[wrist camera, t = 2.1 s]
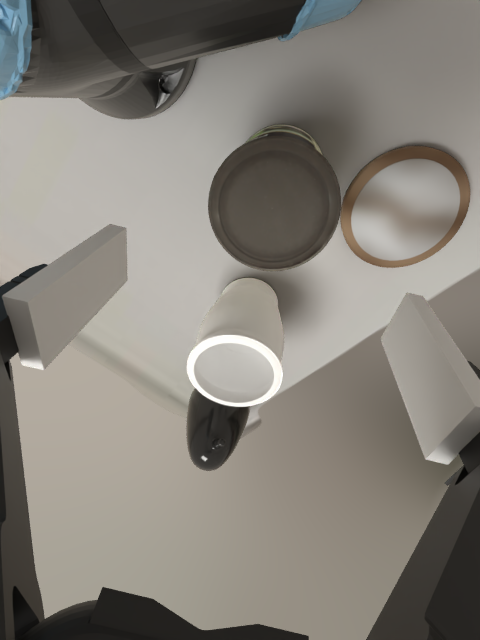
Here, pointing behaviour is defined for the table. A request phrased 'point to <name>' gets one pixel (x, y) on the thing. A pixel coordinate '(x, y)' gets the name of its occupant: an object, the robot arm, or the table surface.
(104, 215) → the table surface
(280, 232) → the coffee can
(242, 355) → the jar
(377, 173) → the thin brown ring
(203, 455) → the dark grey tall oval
